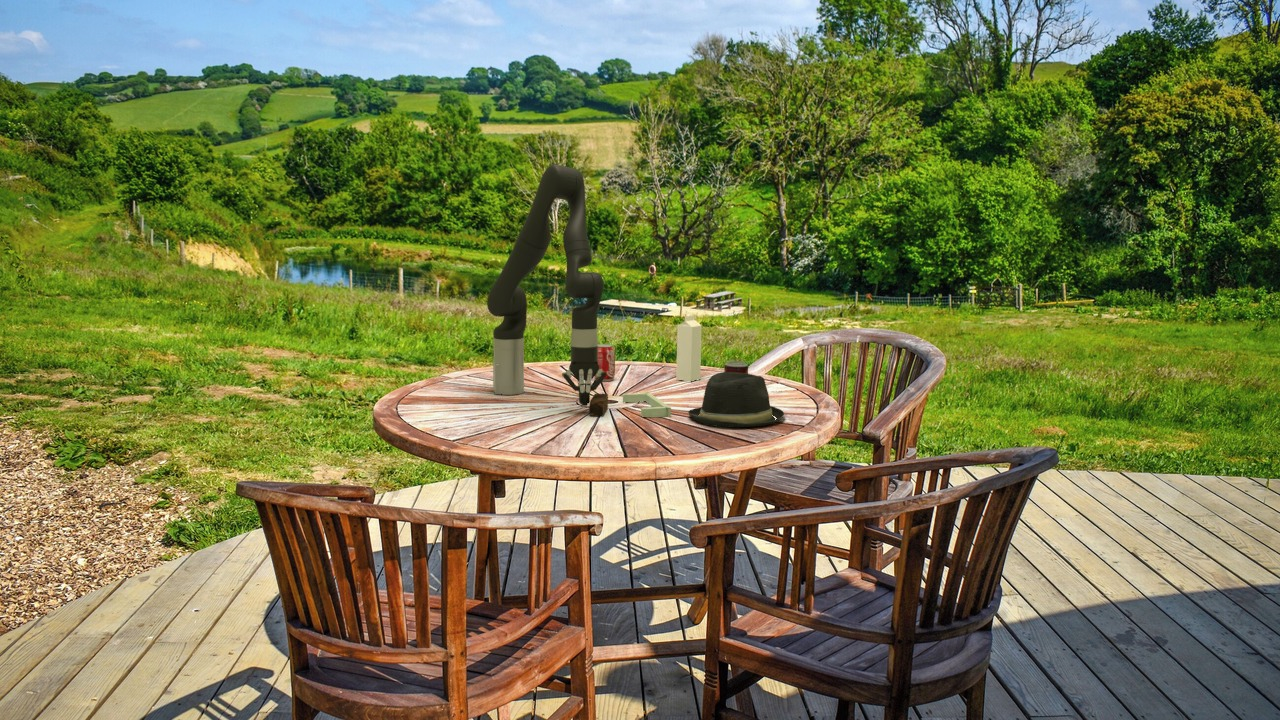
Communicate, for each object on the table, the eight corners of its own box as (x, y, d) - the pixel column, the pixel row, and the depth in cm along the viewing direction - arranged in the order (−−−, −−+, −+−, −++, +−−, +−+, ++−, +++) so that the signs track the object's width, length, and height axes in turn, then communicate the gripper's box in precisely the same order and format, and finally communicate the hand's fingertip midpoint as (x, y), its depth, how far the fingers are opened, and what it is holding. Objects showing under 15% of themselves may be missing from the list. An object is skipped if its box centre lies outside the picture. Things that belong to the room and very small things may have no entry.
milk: (676, 380, 292) (676, 316, 288) (686, 378, 297) (686, 314, 293) (691, 382, 288) (692, 317, 285) (700, 380, 293) (702, 315, 289)
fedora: (802, 420, 237) (804, 375, 235) (736, 435, 219) (738, 387, 217) (736, 405, 256) (737, 363, 254) (669, 418, 238) (670, 373, 235)
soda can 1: (616, 378, 294) (616, 343, 292) (613, 382, 287) (613, 346, 285) (595, 377, 294) (595, 343, 292) (592, 381, 287) (592, 346, 285)
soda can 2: (725, 404, 254) (726, 364, 252) (721, 399, 261) (723, 360, 259) (748, 405, 255) (750, 364, 253) (744, 400, 262) (746, 360, 260)
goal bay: (642, 417, 236) (642, 409, 236) (622, 402, 256) (622, 393, 256) (670, 416, 238) (671, 407, 238) (649, 400, 258) (649, 392, 258)
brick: (594, 408, 247) (594, 392, 246) (608, 409, 247) (608, 393, 246) (588, 417, 237) (588, 400, 236) (603, 417, 236) (603, 401, 236)
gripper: (604, 341, 244) (604, 401, 247) (558, 343, 241) (558, 403, 243) (610, 345, 237) (610, 406, 240) (563, 346, 234) (563, 409, 236)
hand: (584, 405), depth 242 cm, fingers closed
